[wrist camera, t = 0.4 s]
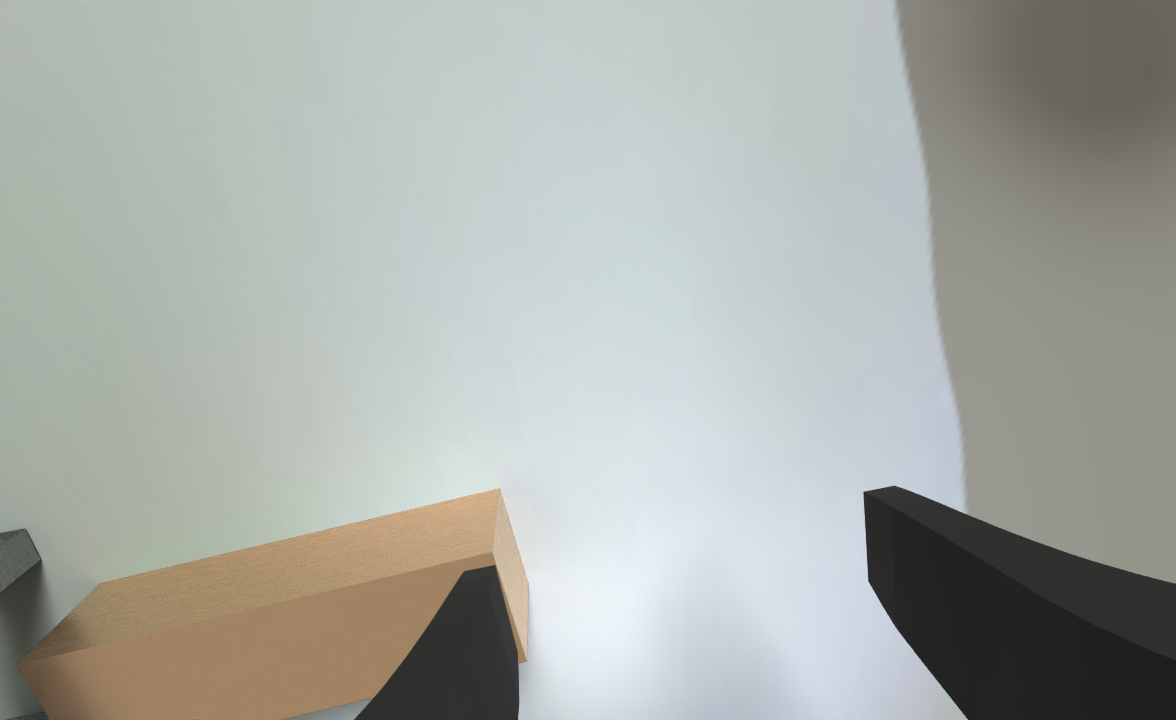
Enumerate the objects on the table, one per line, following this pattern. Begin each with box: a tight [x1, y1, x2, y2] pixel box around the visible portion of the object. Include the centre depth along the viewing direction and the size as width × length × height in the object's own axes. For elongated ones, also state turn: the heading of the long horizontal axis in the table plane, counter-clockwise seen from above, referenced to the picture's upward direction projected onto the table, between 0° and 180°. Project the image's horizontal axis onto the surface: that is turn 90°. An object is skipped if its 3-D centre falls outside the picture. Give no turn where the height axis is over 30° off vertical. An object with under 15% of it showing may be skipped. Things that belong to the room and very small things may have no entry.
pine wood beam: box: [16, 488, 529, 720], centre depth 21 cm, size 4×14×4 cm, turn 103°
